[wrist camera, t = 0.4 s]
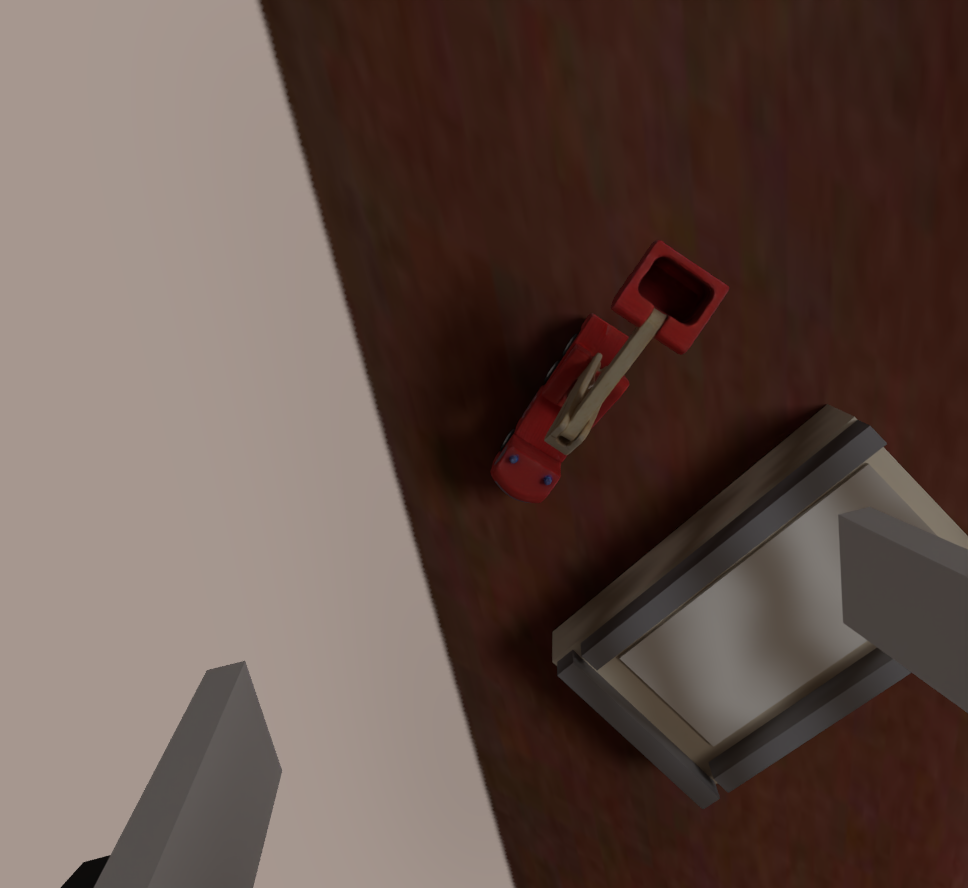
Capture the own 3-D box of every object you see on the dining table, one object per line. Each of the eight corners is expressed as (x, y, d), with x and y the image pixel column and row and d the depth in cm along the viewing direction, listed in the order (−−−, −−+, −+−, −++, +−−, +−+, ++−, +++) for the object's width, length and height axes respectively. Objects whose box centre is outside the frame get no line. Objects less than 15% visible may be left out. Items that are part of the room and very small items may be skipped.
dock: (827, 404, 31) (867, 422, 27) (973, 558, 33) (1032, 597, 29) (552, 631, 37) (551, 675, 33) (687, 757, 38) (702, 813, 34)
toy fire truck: (488, 462, 34) (462, 529, 25) (630, 247, 31) (661, 233, 21) (536, 493, 35) (529, 571, 25) (684, 284, 31) (739, 285, 21)
